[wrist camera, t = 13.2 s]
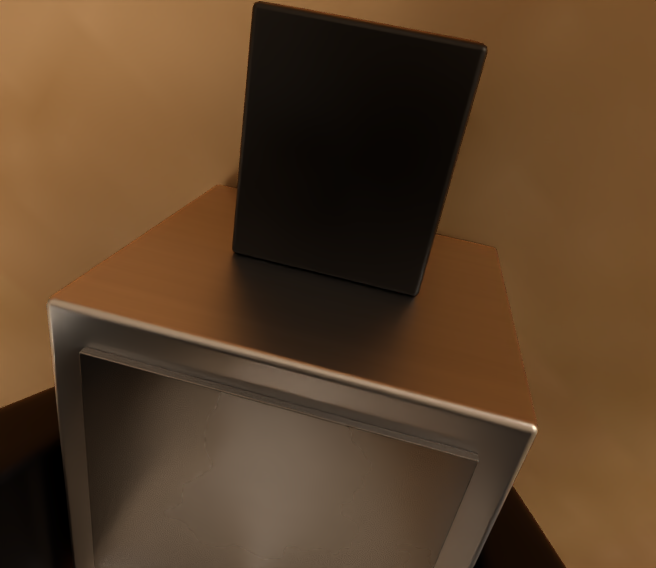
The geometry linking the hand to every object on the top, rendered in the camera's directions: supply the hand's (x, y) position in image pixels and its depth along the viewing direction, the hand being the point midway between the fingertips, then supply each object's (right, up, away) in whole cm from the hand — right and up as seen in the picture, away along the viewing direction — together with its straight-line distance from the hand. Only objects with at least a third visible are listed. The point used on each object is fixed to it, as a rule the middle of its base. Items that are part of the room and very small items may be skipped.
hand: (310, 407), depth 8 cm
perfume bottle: (0, +2, 0) cm, 2 cm away
